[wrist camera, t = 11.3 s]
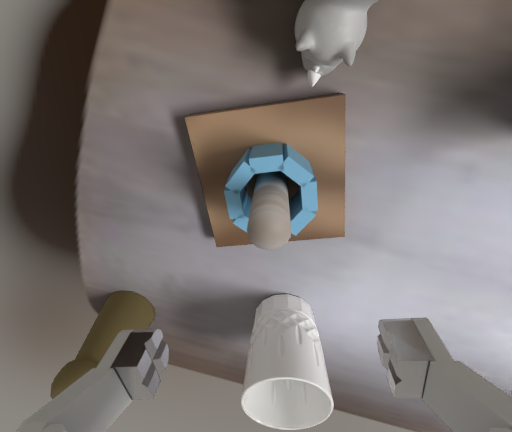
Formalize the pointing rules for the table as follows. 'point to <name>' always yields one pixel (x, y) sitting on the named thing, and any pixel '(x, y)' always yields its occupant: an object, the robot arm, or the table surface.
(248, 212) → the ring
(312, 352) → the white cup
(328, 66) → the round bodied animal figurine
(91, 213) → the table surface
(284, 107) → the post block
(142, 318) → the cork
